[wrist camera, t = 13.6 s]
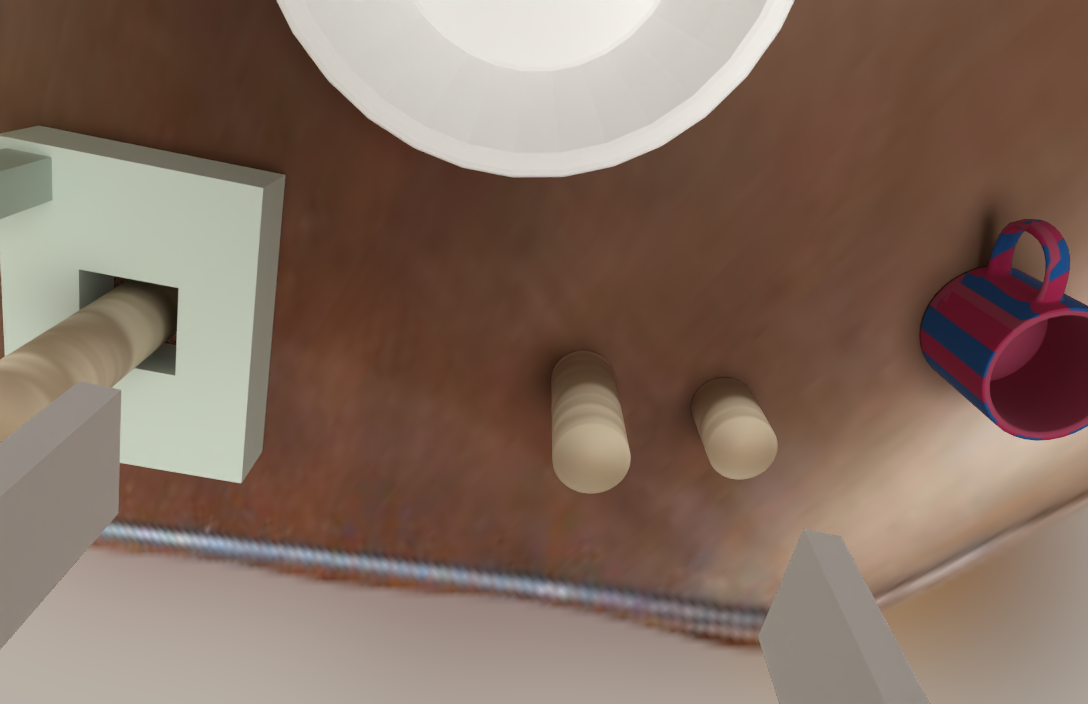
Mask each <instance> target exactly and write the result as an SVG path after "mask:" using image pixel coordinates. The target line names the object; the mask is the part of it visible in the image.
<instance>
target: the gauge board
mask: <svg viewBox="0 0 1088 704" xmlns="http://www.w3.org/2000/svg"><path fill="white" fill-rule="evenodd" d="M285 176H286V175H284V174H279V173H274V172H269V171H264V170H259V169H254V168H249V167H244V166H239V165H234V164H229V163H224V162H219V161H214V160H209V159H204V158H199V157H194V156H189V155H184V154H179V153H174V152H169V151H164V150H159V149H154V148H149V147H144V146H139V145H134V144H129V143H124V142H119V141H114V140H109V139H104V138H99V137H94V136H89V135H84V134H79V133H74V132H69V131H64V130H59V129H54V128H49V127H44V126H34V127H29V128H24V129H19V130H15V131H10V132H5V133H0V264H1V285H2V306H3V327H4V347H5V356H7V355H8V354H10V353H12V352H13V351H15V350H16V349H18V348H20V347H21V346H23V345H24V344H26V343H28V342H29V341H31V340H32V339H34V338H36V337H37V336H39V335H41V334H42V333H44V332H45V331H47V330H49V329H50V328H52V327H53V326H55V325H57V324H58V323H60V322H61V321H63V320H65V319H66V318H68V317H69V316H71V315H73V314H74V313H76V312H78V311H79V310H81V309H82V308H84V307H86V306H87V305H89V304H90V303H92V302H94V301H95V300H97V299H98V298H100V297H102V296H103V295H105V294H106V293H108V292H110V291H111V290H113V289H114V276H117V277H122V278H127V279H133V280H138V281H143V282H149V283H154V284H159V285H165V286H170V287H175V288H179V289H178V316H177V344H176V345H174V344H168V343H163V344H162V345H161V346H160V347H159V348H158V349H156V350H155V351H154V352H153V353H152V354H150V355H149V356H148V357H147V358H146V359H145V360H143V361H142V362H141V363H140V364H139V365H137V366H136V367H135V368H134V369H133V370H132V371H130V372H129V373H128V374H127V375H126V376H125V377H123V378H122V379H121V380H120V381H119V382H117V383H116V384H115V385H114V386H113V387H112V388H115V389H119V390H121V423H120V463H125V464H131V465H136V466H142V467H148V468H154V469H160V470H166V471H172V472H177V473H183V474H189V475H195V476H201V477H207V478H212V479H218V480H224V481H230V482H236V483H242V482H243V480H244V479H245V477H246V476H247V474H248V473H249V471H250V469H251V468H252V466H253V465H254V463H255V462H256V460H257V459H258V457H259V456H260V454H261V453H262V450H263V438H264V426H265V414H266V402H267V390H268V378H269V366H270V354H271V342H272V330H273V319H274V307H275V295H276V283H277V271H278V259H279V247H280V235H281V223H282V211H283V199H284V187H285Z"/></svg>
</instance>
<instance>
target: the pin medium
mask: <svg viewBox="0 0 1088 704" xmlns="http://www.w3.org/2000/svg"><path fill="white" fill-rule="evenodd" d="M551 400H552V456H553V467H554V470H555V473H556V475H557V476H558V478H559V479H560V480H561V481H562V482H563V483H564V484H565V485H566V486H568V487H569V488H571V489H573V490H575V491H578V492H582V493H599V492H603V491H606V490H609V489H611V488H613V487H614V486H616V485H617V484H618V483H619V482H620V481H621V480H622V479H623V478H624V477H625V475H626V473H627V472H628V469H629V466H630V459H631V457H630V450H629V445H628V440H627V435H626V430H625V425H624V421H623V416H622V411H621V406H620V401H619V396H618V391H617V386H616V381H615V376H614V372H613V369H612V367H611V365H610V364H609V362H608V361H607V360H606V359H605V358H604V357H602V356H601V355H599V354H597V353H595V352H591V351H576V352H572V353H570V354H568V355H566V356H564V357H563V358H562V359H560V360H559V362H558V363H557V364H556V365H555V367H554V369H553V372H552V376H551Z"/></svg>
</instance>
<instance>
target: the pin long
mask: <svg viewBox="0 0 1088 704" xmlns="http://www.w3.org/2000/svg"><path fill="white" fill-rule="evenodd" d="M178 289H179V288H175V287H170V286H165V285H159V284H154V283H149V282H143V281H138V280H133V279H129V280H127V281H126V282H124V283H123V284H121V285H119V286H118V287H116V288H114V289H113V290H111V291H110V292H108V293H106V294H105V295H103V296H102V297H100V298H98V299H97V300H95V301H94V302H92V303H90V304H89V305H87V306H86V307H84V308H82V309H81V310H79V311H78V312H76V313H74V314H73V315H71V316H69V317H68V318H66V319H65V320H63V321H61V322H60V323H58V324H57V325H55V326H53V327H52V328H50V329H49V330H47V331H45V332H44V333H42V334H41V335H39V336H37V337H36V338H34V339H32V340H31V341H29V342H28V343H26V344H24V345H23V346H21V347H20V348H18V349H16V350H15V351H13V352H12V353H10V354H8V355H7V356H5V357H4V358H2V359H0V443H1V442H2V441H3V440H4V439H6V438H7V437H8V436H10V435H11V434H12V433H13V432H15V431H16V430H17V429H18V428H20V427H21V426H22V425H24V424H25V423H26V422H27V421H29V420H30V419H31V418H33V417H34V416H35V415H36V414H38V413H39V412H40V411H41V410H43V409H44V408H45V407H47V406H48V405H49V404H50V403H52V402H53V401H54V400H55V399H57V398H58V397H59V396H61V395H62V394H63V393H64V392H66V391H67V390H68V389H70V388H71V387H72V386H73V385H75V384H76V383H77V382H78V381H80V382H85V383H90V384H95V385H100V386H105V387H110V388H112V387H113V386H114V385H115V384H116V383H117V382H119V381H120V380H121V379H122V378H123V377H125V376H126V375H127V374H128V373H129V372H130V371H132V370H133V369H134V368H135V367H136V366H137V365H139V364H140V363H141V362H142V361H143V360H145V359H146V358H147V357H148V356H149V355H150V354H152V353H153V352H154V351H155V350H156V349H158V348H159V347H160V346H161V345H162V344H163V343H165V342H166V341H167V340H168V339H169V338H171V337H172V336H173V335H174V334H175V333H176V332H177V316H178Z"/></svg>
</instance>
